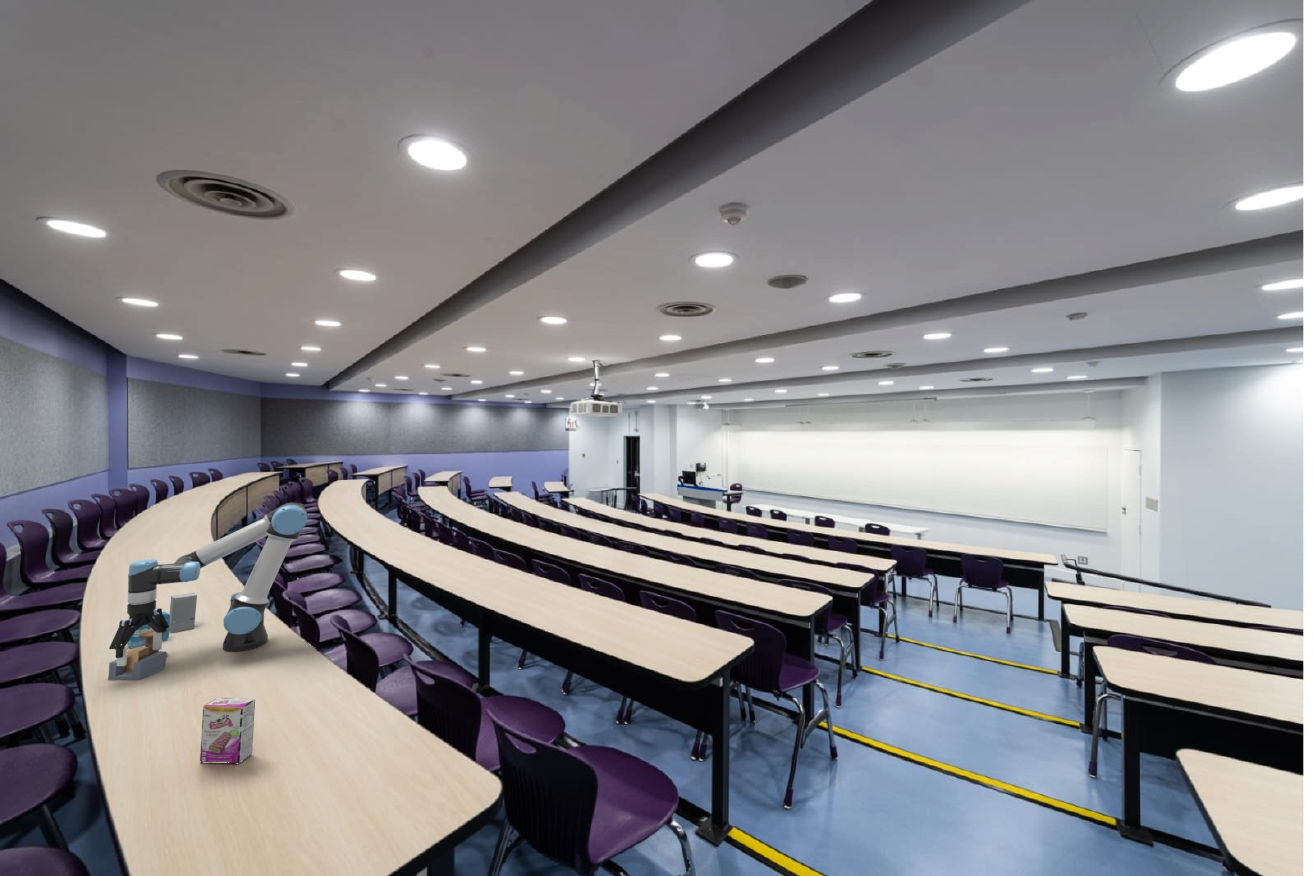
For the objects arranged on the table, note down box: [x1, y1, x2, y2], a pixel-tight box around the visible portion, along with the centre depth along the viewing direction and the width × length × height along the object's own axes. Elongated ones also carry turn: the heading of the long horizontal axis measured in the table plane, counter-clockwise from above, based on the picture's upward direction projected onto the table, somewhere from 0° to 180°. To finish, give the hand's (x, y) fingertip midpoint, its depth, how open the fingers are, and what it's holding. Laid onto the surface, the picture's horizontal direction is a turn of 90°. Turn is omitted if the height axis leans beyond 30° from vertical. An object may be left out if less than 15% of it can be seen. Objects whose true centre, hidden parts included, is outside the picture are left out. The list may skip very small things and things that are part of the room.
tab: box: [126, 646, 149, 673], centre depth 183 cm, size 4×4×8 cm
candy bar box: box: [199, 697, 256, 765], centre depth 138 cm, size 11×5×16 cm, turn 92°
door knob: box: [138, 629, 168, 658], centre depth 195 cm, size 9×9×11 cm
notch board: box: [107, 650, 167, 681], centre depth 183 cm, size 11×10×6 cm
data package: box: [126, 611, 170, 649], centre depth 209 cm, size 12×4×12 cm, turn 150°
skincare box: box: [168, 592, 198, 634], centre depth 225 cm, size 8×7×16 cm
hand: (140, 657), depth 183 cm, fingers open, 13 cm apart
